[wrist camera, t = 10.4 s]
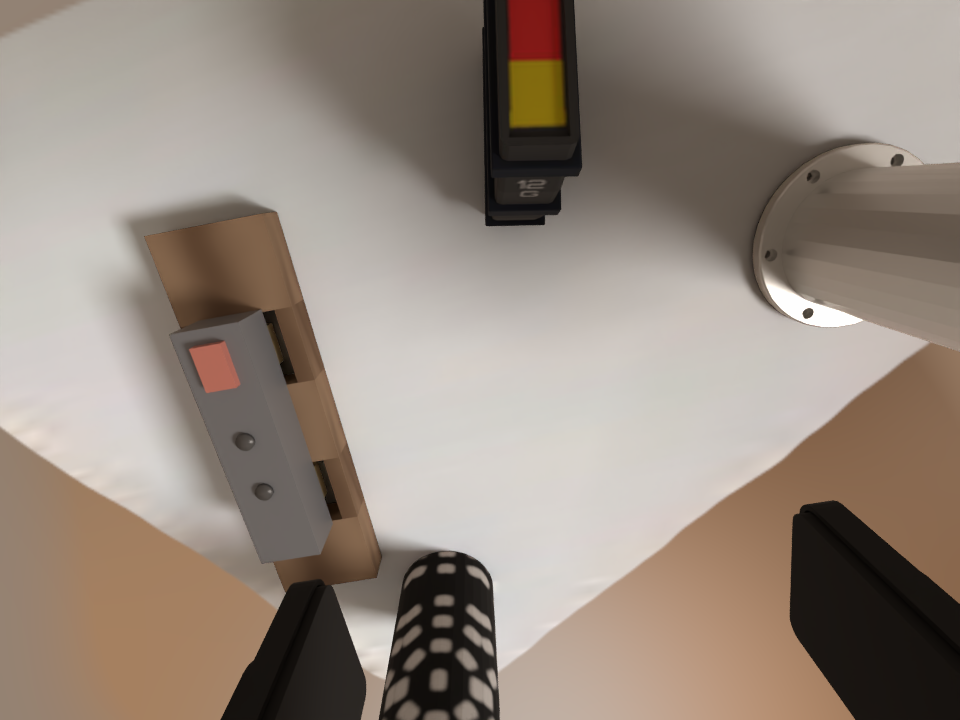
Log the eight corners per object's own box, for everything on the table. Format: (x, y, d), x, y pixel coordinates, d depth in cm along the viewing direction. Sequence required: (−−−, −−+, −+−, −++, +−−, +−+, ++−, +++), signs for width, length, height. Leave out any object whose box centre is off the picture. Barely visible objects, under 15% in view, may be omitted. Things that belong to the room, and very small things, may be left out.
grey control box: (275, 301, 36) (233, 324, 30) (340, 505, 42) (318, 559, 36) (216, 312, 36) (163, 337, 30) (289, 513, 42) (258, 569, 36)
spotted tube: (400, 551, 43) (346, 827, 25) (493, 550, 44) (510, 825, 25) (404, 622, 46) (357, 922, 27) (492, 622, 46) (506, 919, 27)
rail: (276, 212, 34) (262, 213, 32) (381, 556, 44) (376, 577, 41) (166, 233, 34) (144, 236, 32) (295, 570, 44) (285, 592, 42)
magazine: (485, 269, 34) (492, 154, 19) (481, 92, 35) (484, -143, 20) (539, 268, 34) (589, 152, 19) (533, 91, 35) (573, -145, 20)
